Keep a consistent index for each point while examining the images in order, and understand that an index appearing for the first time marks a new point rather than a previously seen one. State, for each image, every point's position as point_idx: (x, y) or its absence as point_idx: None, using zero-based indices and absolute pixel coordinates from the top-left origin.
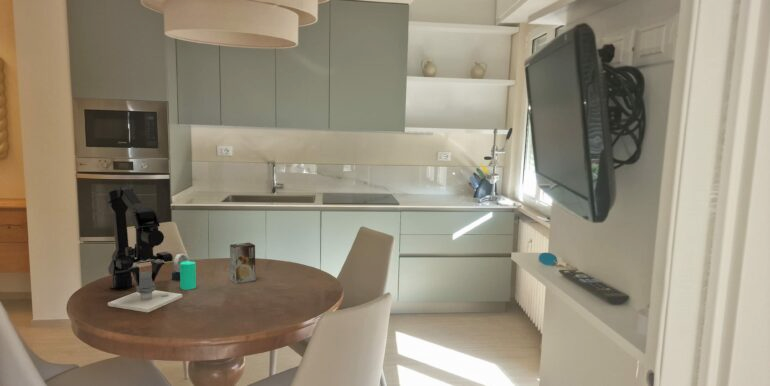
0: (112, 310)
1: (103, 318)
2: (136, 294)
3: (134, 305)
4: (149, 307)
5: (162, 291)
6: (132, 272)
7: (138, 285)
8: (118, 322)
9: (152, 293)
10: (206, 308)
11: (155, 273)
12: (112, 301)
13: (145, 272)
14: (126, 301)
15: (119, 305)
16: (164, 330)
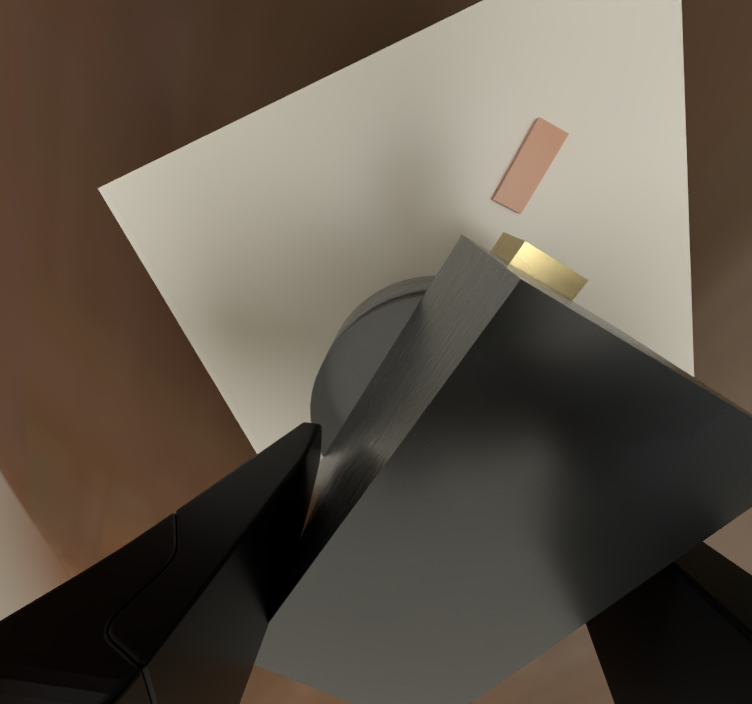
0: (139, 331)
1: (66, 429)
2: (435, 126)
3: (270, 430)
4: None
5: (685, 257)
6: (78, 609)
7: (347, 380)
8: (134, 531)
9: (569, 240)
10: (568, 666)
11: (622, 696)
12: (145, 181)
13: (590, 452)
14: (255, 291)
15: (185, 323)
16: (273, 698)
